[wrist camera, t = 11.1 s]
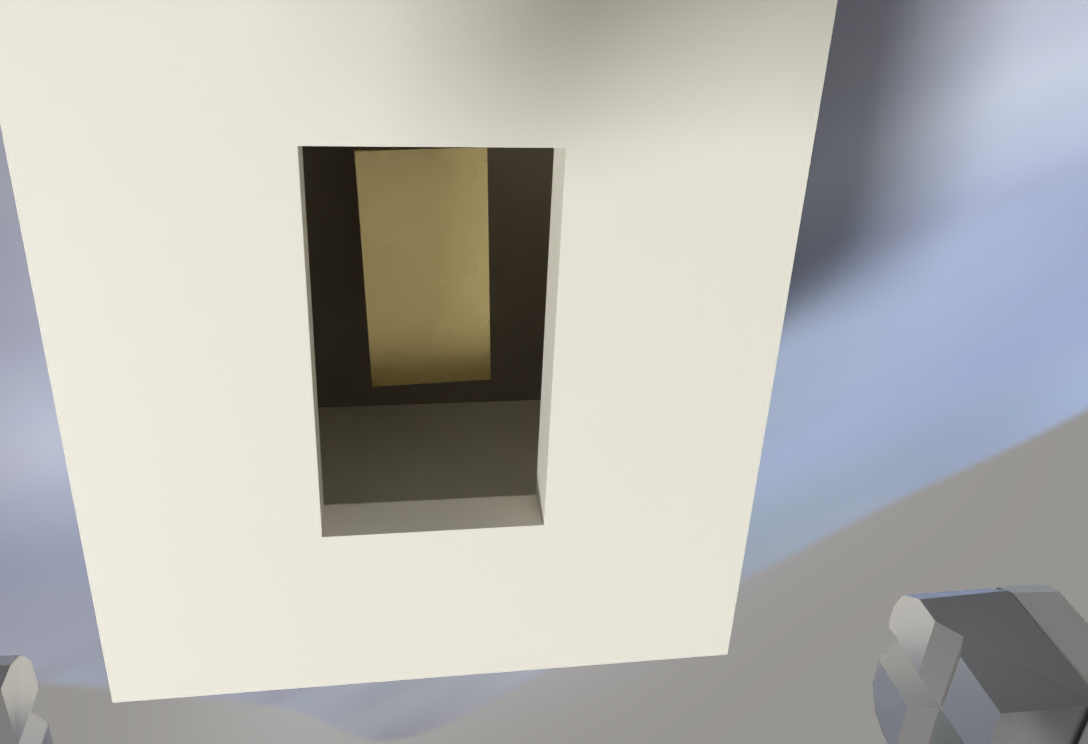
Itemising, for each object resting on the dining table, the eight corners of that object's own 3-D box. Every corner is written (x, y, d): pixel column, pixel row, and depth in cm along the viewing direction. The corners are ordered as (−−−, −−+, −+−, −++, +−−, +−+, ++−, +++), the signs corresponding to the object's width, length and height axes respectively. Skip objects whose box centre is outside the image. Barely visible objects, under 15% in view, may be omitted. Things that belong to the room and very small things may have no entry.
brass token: (356, 95, 23) (354, 151, 19) (463, 92, 24) (486, 146, 19) (370, 295, 26) (372, 387, 21) (468, 290, 26) (490, 379, 22)
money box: (119, -141, 21) (-50, -136, 13) (667, -113, 23) (853, -92, 14) (191, 432, 28) (112, 702, 19) (618, 416, 30) (727, 654, 21)
